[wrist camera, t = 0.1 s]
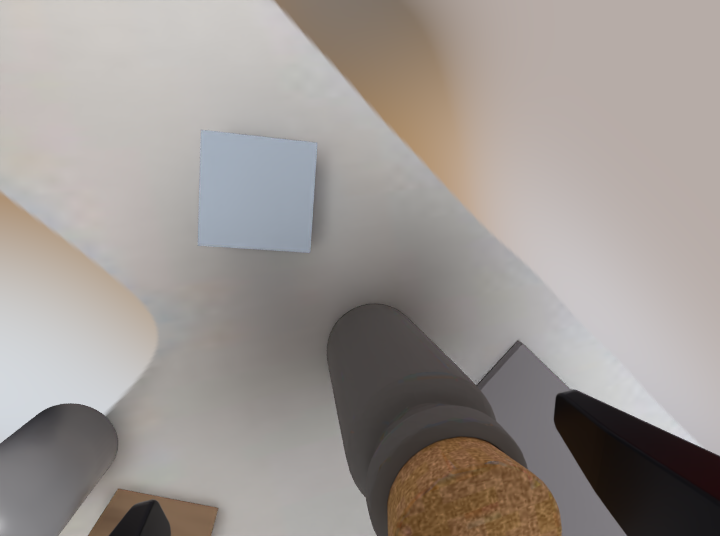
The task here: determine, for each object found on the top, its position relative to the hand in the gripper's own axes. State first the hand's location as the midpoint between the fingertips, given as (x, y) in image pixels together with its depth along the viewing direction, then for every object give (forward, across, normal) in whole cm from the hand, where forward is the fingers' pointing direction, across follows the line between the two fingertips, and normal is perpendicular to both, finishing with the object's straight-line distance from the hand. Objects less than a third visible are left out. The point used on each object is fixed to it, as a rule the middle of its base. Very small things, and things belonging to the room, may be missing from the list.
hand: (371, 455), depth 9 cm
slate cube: (+17, +2, -2) cm, 17 cm away
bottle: (+14, -2, +8) cm, 16 cm away
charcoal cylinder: (+14, +16, +9) cm, 23 cm away
